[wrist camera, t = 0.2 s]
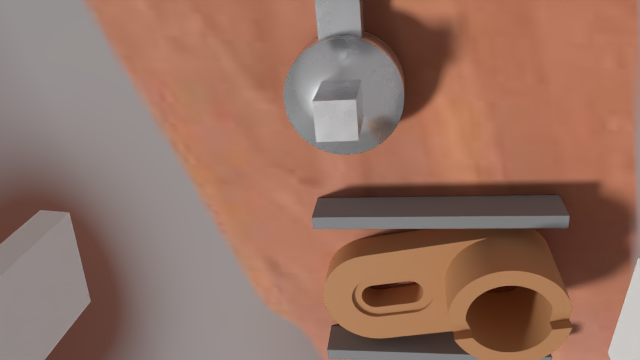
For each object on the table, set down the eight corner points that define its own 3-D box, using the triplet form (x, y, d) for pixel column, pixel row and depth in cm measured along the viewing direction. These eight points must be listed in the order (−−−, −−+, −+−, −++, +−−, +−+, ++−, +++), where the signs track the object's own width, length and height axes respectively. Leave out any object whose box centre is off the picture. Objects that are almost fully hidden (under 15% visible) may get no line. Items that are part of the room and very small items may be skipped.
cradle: (317, 198, 43) (311, 217, 41) (559, 194, 40) (569, 215, 38) (332, 334, 50) (328, 358, 47) (542, 340, 47) (550, 366, 44)
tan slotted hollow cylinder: (544, 208, 41) (568, 262, 35) (554, 296, 45) (578, 359, 39) (316, 244, 46) (302, 297, 40) (341, 321, 49) (332, 381, 43)
